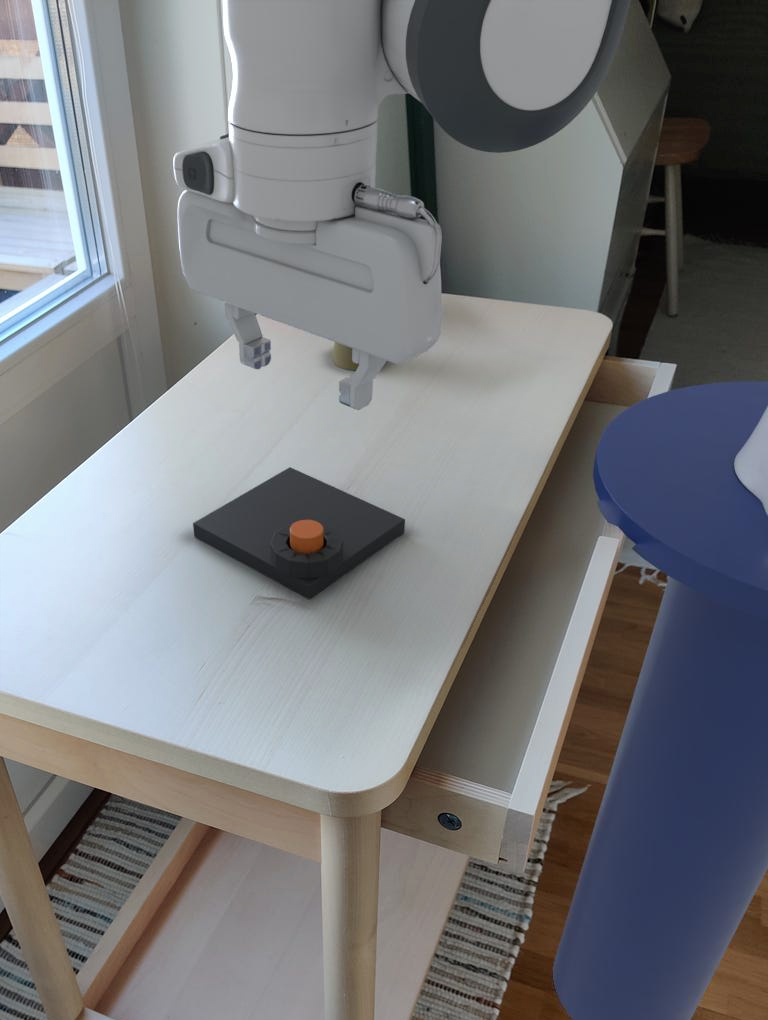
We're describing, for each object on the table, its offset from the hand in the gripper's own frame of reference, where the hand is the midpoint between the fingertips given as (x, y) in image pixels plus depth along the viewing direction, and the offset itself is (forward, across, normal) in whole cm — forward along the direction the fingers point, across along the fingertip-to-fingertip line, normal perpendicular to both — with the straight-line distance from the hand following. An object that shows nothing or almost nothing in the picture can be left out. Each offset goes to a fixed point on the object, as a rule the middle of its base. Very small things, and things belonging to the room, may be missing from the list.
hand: (303, 383), depth 67 cm
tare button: (+13, -1, +1) cm, 13 cm away
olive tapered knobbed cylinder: (+16, +21, -33) cm, 42 cm away
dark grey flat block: (+16, +3, -3) cm, 16 cm away
